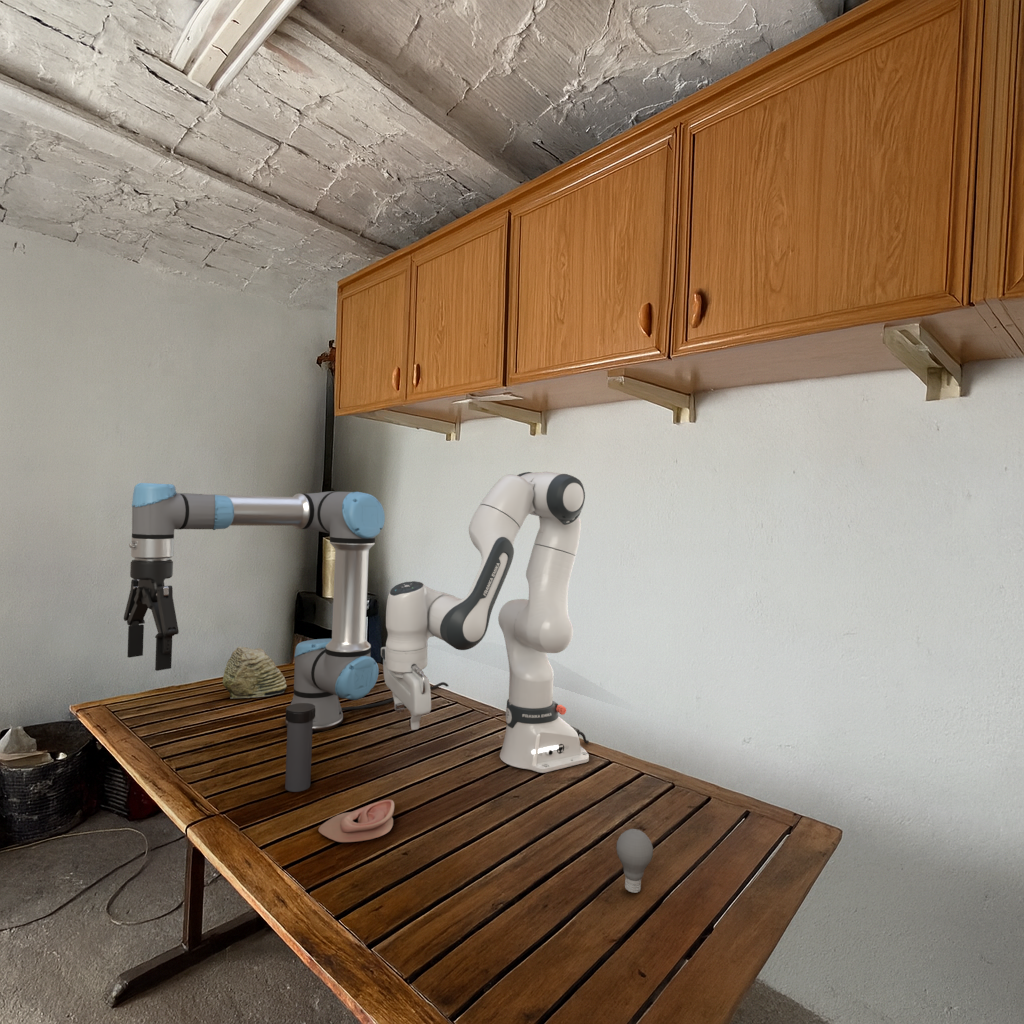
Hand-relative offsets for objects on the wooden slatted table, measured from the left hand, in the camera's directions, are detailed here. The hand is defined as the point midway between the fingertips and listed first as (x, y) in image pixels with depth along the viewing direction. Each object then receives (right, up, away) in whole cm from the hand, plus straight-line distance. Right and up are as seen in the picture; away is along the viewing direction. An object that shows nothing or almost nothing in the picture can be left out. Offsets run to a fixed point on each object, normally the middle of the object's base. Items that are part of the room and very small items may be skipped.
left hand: (148, 662), depth 129 cm
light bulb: (+94, -33, -24) cm, 103 cm away
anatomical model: (+44, -30, -8) cm, 54 cm away
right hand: (+51, -14, +8) cm, 54 cm away
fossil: (-6, -27, +69) cm, 74 cm away
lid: (+28, -12, +8) cm, 32 cm away
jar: (+27, -29, +9) cm, 41 cm away
